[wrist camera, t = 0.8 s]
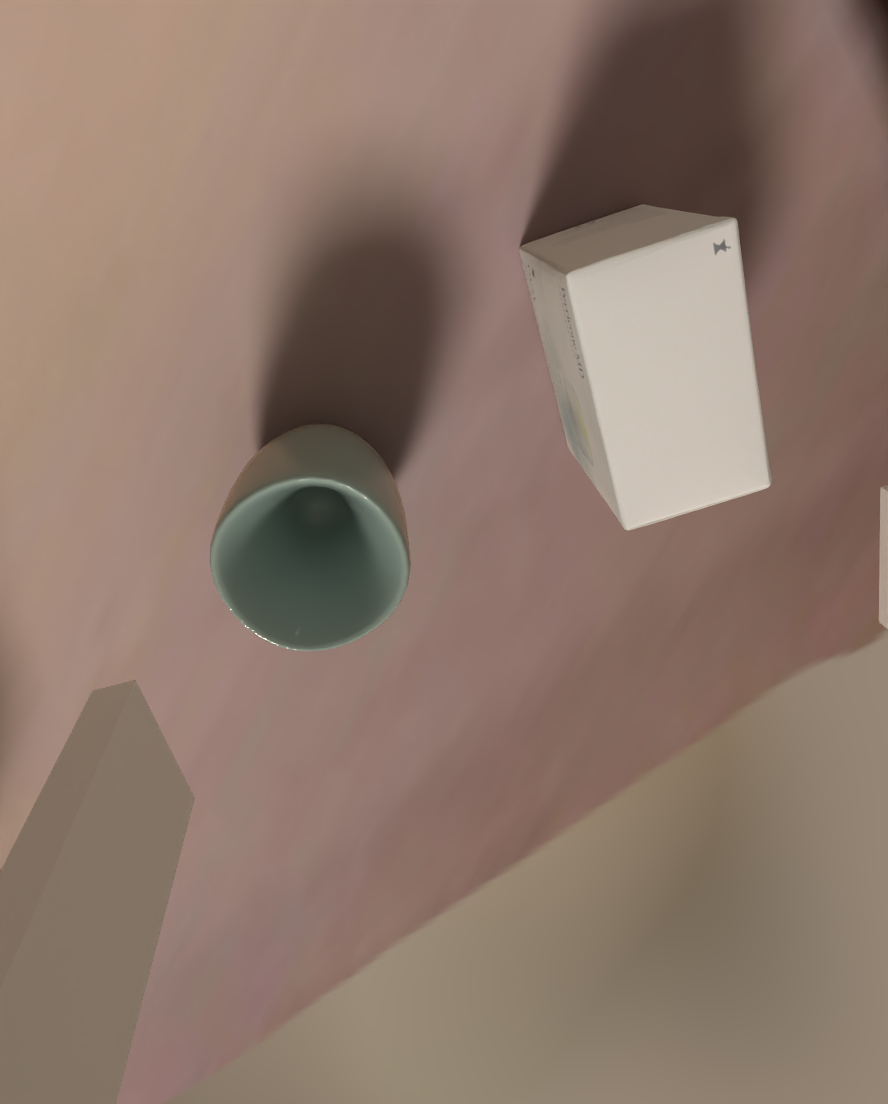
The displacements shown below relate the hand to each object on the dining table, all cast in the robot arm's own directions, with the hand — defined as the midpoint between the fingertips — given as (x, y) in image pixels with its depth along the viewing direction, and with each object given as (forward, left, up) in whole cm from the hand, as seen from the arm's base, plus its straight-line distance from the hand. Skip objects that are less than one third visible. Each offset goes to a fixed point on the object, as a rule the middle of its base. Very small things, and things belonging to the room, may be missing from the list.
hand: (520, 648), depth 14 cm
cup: (+1, -8, -27) cm, 28 cm away
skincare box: (+5, +7, -27) cm, 28 cm away
